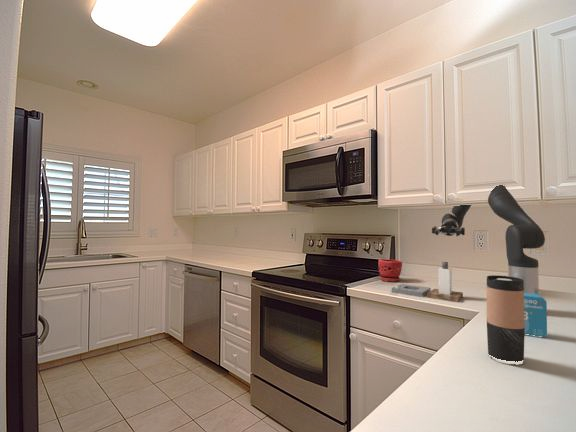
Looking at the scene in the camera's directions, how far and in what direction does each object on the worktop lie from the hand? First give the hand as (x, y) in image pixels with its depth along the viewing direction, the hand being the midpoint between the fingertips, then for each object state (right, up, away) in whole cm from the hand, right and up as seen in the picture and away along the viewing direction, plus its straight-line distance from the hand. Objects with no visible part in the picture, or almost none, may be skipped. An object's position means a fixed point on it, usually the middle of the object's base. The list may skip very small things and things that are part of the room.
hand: (446, 233), depth 141 cm
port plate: (-16, -29, +3) cm, 33 cm away
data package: (-4, -28, -50) cm, 57 cm away
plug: (-4, -29, -6) cm, 30 cm away
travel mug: (-22, -27, -67) cm, 76 cm away
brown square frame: (-4, -29, -6) cm, 30 cm away
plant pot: (-16, -30, +32) cm, 47 cm away
